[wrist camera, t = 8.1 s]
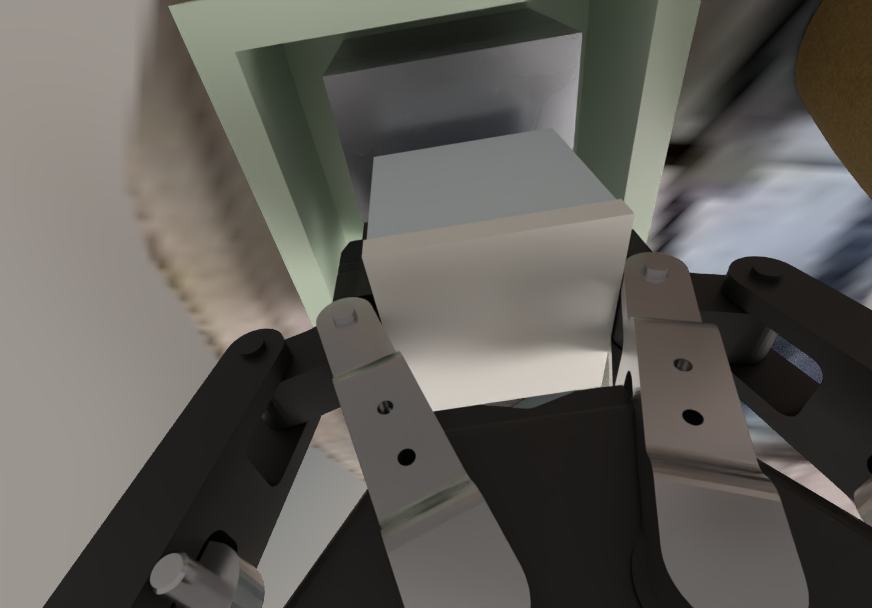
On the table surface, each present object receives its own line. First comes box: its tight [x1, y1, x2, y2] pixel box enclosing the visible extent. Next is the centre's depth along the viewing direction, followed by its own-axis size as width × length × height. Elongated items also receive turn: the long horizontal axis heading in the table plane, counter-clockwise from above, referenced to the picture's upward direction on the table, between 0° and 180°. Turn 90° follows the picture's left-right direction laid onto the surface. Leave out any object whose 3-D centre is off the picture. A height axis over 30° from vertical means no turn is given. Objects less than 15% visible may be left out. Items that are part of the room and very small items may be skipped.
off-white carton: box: [362, 128, 635, 411], centre depth 11 cm, size 5×5×5 cm
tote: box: [168, 0, 701, 353], centre depth 18 cm, size 14×16×6 cm
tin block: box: [323, 8, 582, 223], centre depth 16 cm, size 7×9×6 cm
